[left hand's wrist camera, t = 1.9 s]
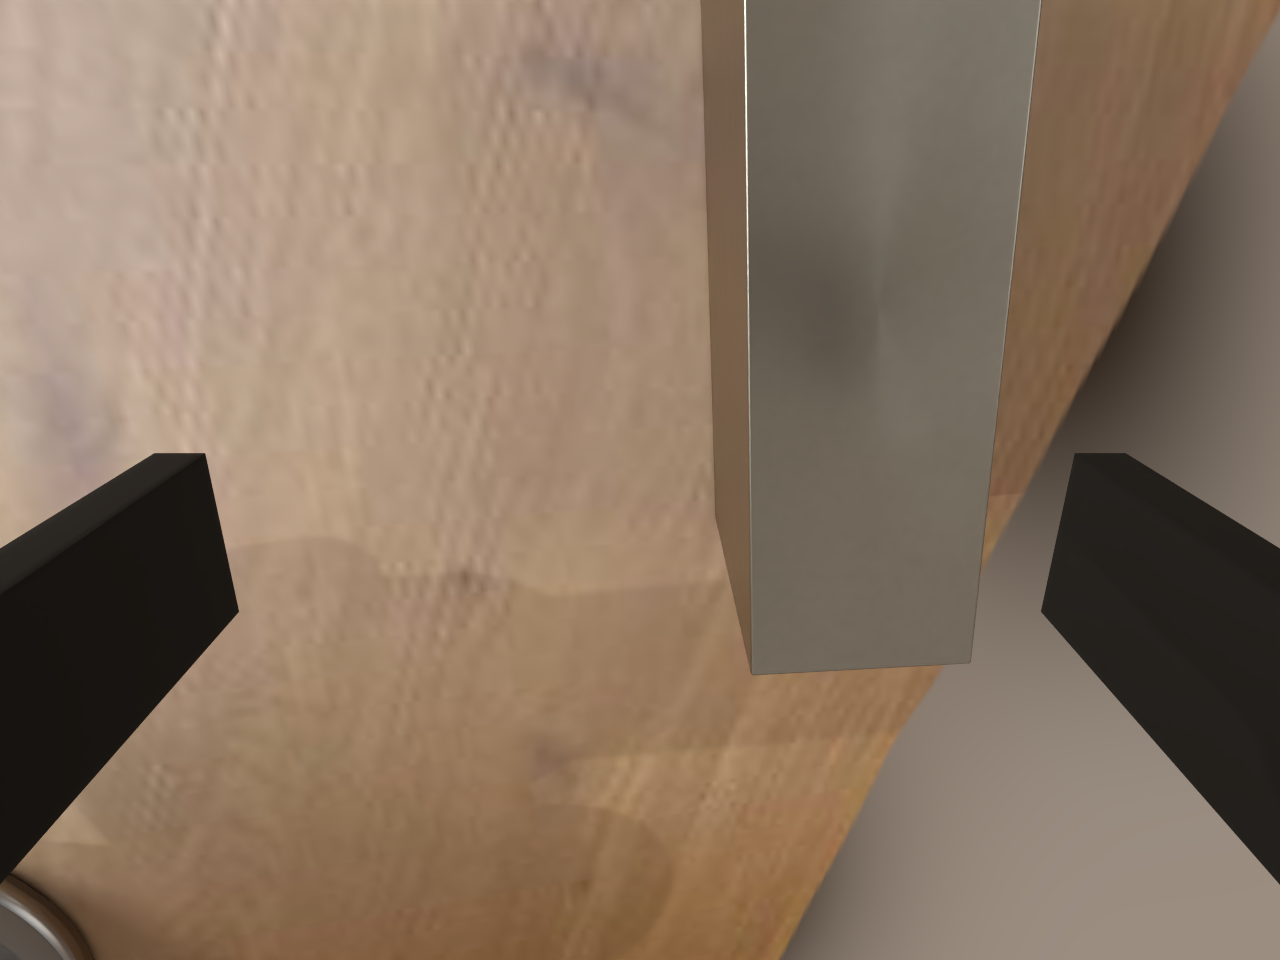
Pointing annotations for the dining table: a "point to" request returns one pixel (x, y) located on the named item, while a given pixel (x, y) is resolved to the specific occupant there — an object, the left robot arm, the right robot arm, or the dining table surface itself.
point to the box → (860, 313)
